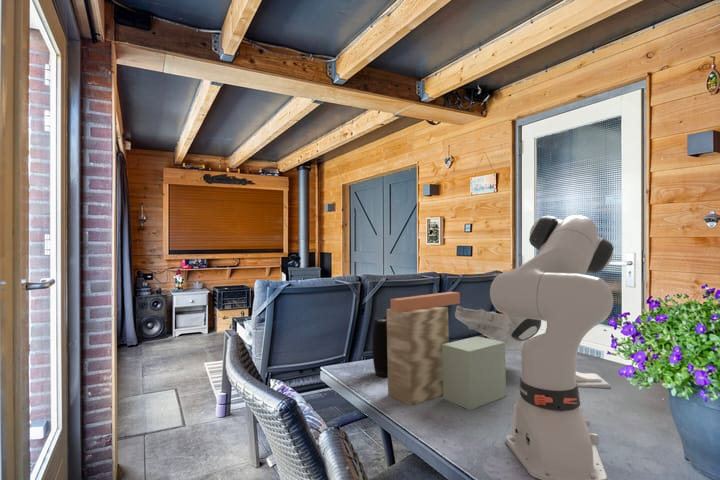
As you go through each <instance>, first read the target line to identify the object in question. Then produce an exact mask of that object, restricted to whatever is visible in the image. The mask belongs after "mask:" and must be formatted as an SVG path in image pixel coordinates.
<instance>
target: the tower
mask: <svg viewBox="0 0 720 480" xmlns="http://www.w3.org/2000/svg"><path fill="white" fill-rule="evenodd" d="M386 317H387V357H388V375H387V395H388V396H389V397H391V398H394V399H396V400H398V401H400V402H402V403H405V404H406V405H408V406H413V405H416V404H420V403H423V402H427V401H428V400H431V399H435V398H438V397H441V396H443V366H442V344H445V343H450V341H449V340H450V339H449V335H450V334H449V308H448V306H447V307H446V306H439V307H432V308H426V309H419V310H412V311H405V312H399V313H398V312H393V311H391V308H386Z"/></svg>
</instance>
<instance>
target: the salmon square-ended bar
mask: <svg viewBox="0 0 720 480" xmlns="http://www.w3.org/2000/svg"><path fill="white" fill-rule="evenodd" d="M460 297H461V294H460V292H457V291H448V292H447V291H446V292H439V293H430V294H428V293H427V294H421V295H413V296H404V297H395V298H390V309H391V311H393V312H398V313H399V312H405V311H412V310H419V309H426V308H432V307H439V306H441V307H446V306H451V305H457V304H459V305H460V303H461V298H460Z"/></svg>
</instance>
